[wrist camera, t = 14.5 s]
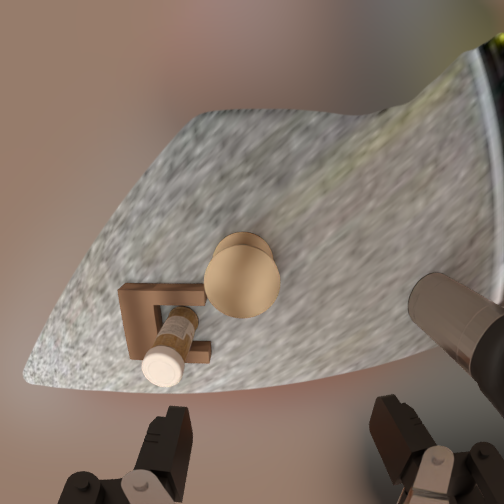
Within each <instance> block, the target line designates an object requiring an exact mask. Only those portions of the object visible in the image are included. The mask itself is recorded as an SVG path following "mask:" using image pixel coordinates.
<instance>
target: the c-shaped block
mask: <svg viewBox="0 0 504 504" xmlns="http://www.w3.org/2000/svg"><path fill="white" fill-rule="evenodd" d="M118 296H119V303H120V309H121V315H122V320H123V326H124V331H125V336H126V341H127V346H128V351H129V355H130V359H133V360H143V359H144V357H145V355H146V353H147V352H148V351H149V350H150V349H151V347H152V346H153V344H154V341H155V339H156V337H157V335H158V333H159V332H160V330H161V328H162V326H163V325H162V317H161V309H160V305H182V306H205V303H206V300H207V295H206V292H205V288H204V284H153V283H125V284H124V285H123V286H122V287H120V288H119V289H118ZM210 358H211V341H192V343H191V346H190V349H189V352H188V354H187V357H186V360H185V363H210Z"/></svg>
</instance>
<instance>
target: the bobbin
mask: <svg viewBox="0 0 504 504" xmlns="http://www.w3.org/2000/svg"><path fill="white" fill-rule="evenodd" d="M204 288H205V292H206V295H207V297H208V299H209V301H210V302H211V303H212V305H213V306H214V307H215V308H216V309H217V310H219V311H220V312H222V313H223V314H225V315H228V316H231V317H235V318H250V317H254V316H257V315H259V314H261V313H263V312H265V311H266V310H267V309H268V308H269V307H270V306H271V305H272V304H273V303H274V301H275V300H276V298H277V296H278V293H279V289H280V275H279V272H278V269H277V266H276V264H275V262H274V260H273V255H272V252H271V249H270V247H269V246H268V244H267V243H266V242H265V241H264V240H263V239H262V238H261V237H259V236H257V235H255V234H253V233H249V232H237V233H233V234H230V235H229V236H227V237H225V238H224V239H223V240H222V241H221V242H220V243H219V244H218V246H217V247H216V249H215V251H214V254H213V258H212V260H211V261H210V263H209V265H208V267H207V269H206V272H205V276H204Z"/></svg>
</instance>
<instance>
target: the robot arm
mask: <svg viewBox="0 0 504 504" xmlns="http://www.w3.org/2000/svg"><path fill="white" fill-rule="evenodd" d="M408 310H409V315H410V317H411V319H412V320H413V322H414V323H416V324H417V325H418V326H419V327H420V328H421V329H422V330H423V331H424V332H425V333H426V334H427V335H428V336H429V337H430V338H432V339H433V340H434V341H435V342H436V343H437V344H438V345H439V346H440V347H441V348H442V349H443V350H444V351H445V352H446V353H447V354H448V355H449V356H450V357H451V358H453V359H454V360H455V361H456V362H457V363H458V364H459V365H460V366H461V367H462V368H463V369H464V370H465V371H466V372H467V373H468V374H469V375H470V376H471V377H472V378H473V379H474V380H475V381H476V382H477V383H478V386H479V388H480V390H481V391H482V393H483V394H484V395H485V396H486V397H487V398H488V400H489V401H490V402H491V403H492V404H493V406H494V407H495V408H496V409H497V411H498V412H499V413H500V414H501V416H502V417H503V418H504V308H503V307H501V306H499V305H497V304H496V303H494V302H492V301H490V300H489V299H487V298H485V297H484V296H482V295H480V294H478V293H477V292H475V291H473V290H471V289H469V288H468V287H466V286H464V285H462V284H460V283H459V282H457V281H455V280H453V279H451V278H450V277H448V276H446V275H444V274H442V273H432V274H429V275H427V276H425V277H424V278H423V279H421V280H420V281H419V282H418V283H417V285H416V286H415V288H414V289H413V291H412V293H411V296H410V299H409V305H408ZM369 428H370V433H371V436H372V438H373V440H374V442H375V445H376V447H377V449H378V451H379V453H380V455H381V458H382V460H383V463H384V465H385V467H386V469H387V472H388V474H389V476H390V479H391V481H392V483H393V485H398V484H401V483H403V485H404V489H403V491H402V493H401V495H400V497H399V500H398V502H397V504H448V503H450V504H504V460H503V458H502V457H501V455H500V454H499V452H498V451H497V449H496V448H495V447H494V446H493V445H492V444H490V443H488V442H479V443H476V444H475V445H474V446H473V447H472V449H471V450H470V452H460V453H452V452H451V451H450V450H449V449H448V448H446V447H443V446H437V445H436V443H435V441H434V440H433V438H432V437H431V435H430V434H429V432H428V431H427V429H426V427H425V426H424V424H422V421H421V420H420V418H418V415H417V414H416V412H415V411H414V409H413V408H411V407H410V406H409V405H407V404H406V403H402V404H401V403H400V402H399V400H398V399H397V397H396V396H395V395H394V394H391V395H386V396H381V397H377V399H376V401H375V405H374V408H373V412H372V415H371V418H370V422H369ZM192 443H193V432H192V427H191V421H190V416H189V411H188V408H187V407H179V406H169V408H168V411H167V415H166V417H159V416H158V417H156V418H155V419H154V420H153V421H152V422H151V423H150V425H149V428H148V430H147V435H146V436H145V439H144V442H143V445H142V447H141V450H140V453H139V456H138V459H137V462H136V465H135V467H134V469H133V471H130V472H128V473H127V474H126V475H125V476H124V477H123V478H120V479H111V480H99V479H98V478H97V477H96V476H95V475H94V474H92V473H90V472H85V471H82V472H76V473H74V474H72V475H71V476H70V477H69V478H68V479H67V482H66V484H65V486H64V489H63V492H62V494H61V496H60V499H59V501H58V504H175V503H174V502H182V499H183V494H184V488H185V482H186V477H187V471H188V465H189V460H190V454H191V448H192ZM477 485H478V486H477ZM478 487H479V488H478ZM479 489H480V490H481V492H482V494H483V496H484V497H483V496H482V494H481V492H480V490H479Z"/></svg>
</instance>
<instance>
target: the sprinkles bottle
mask: <svg viewBox="0 0 504 504" xmlns="http://www.w3.org/2000/svg"><path fill="white" fill-rule="evenodd" d="M197 327H198V318H197V315H196V314H195V313H194V312H193V311H192V310H191V309H190V308H187V307H183V306H180V307H176V308H174V309H173V310H171V312H170V313H169V316H168V319H167V320H166V321H165V323H164V325H163V326H162V328H161V330H160V332H159V333H158V335H157V337H156V339H155V341H154V344H153V346H152V347H151V349H150V350H149V351H148V352H147V353H146V355H145V357H144V359H143V361H142V371H143V374H144V375H145V377H146V378H147V379H148V380H149V381H150V382H152V383H153V384H155V385H157V386H161V387H171V386H174V385H176V384H177V383H178V382H179V381H180V380H181V378H182V375H183V372H184V367H185V365H184V363H185V360H186V357H187V354H188V352H189V349H190V346H191V343H192V341H193V338H194V334H195V330H196V329H197Z"/></svg>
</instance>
